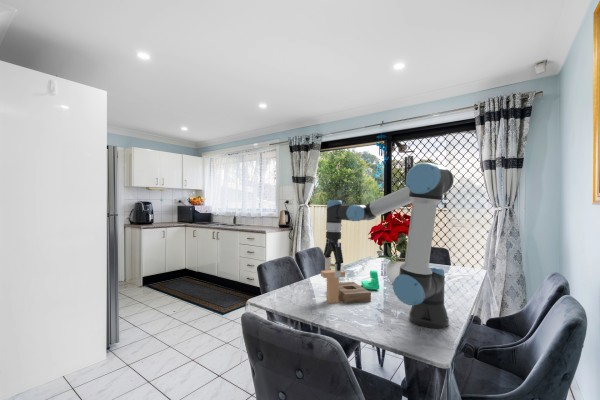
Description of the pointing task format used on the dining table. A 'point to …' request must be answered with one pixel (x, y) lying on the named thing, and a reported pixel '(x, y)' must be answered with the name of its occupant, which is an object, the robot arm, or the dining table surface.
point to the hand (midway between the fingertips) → (332, 273)
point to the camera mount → (373, 283)
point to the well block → (353, 293)
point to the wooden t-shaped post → (332, 285)
